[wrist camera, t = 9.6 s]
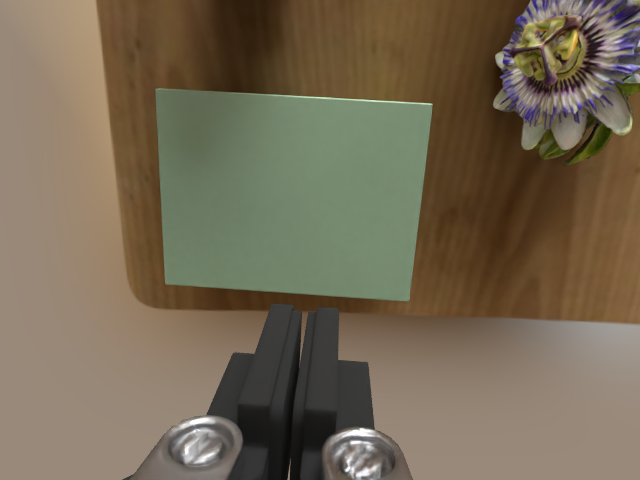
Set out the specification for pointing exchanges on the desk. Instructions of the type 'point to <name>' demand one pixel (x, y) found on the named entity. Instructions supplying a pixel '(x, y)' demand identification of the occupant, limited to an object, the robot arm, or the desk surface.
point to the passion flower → (571, 74)
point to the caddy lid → (291, 192)
